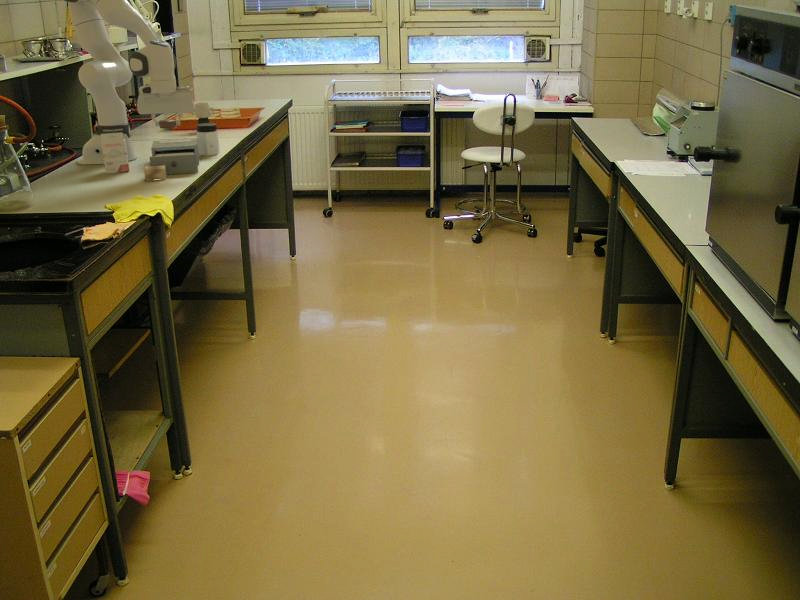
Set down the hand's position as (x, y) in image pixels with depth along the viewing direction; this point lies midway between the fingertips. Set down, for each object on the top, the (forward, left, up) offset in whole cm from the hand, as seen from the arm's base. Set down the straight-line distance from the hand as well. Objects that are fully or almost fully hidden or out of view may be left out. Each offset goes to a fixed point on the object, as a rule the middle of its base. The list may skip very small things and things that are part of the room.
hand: (168, 125), depth 315 cm
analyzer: (+1, +15, -17) cm, 23 cm away
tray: (+1, 0, -16) cm, 16 cm away
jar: (+14, +29, -17) cm, 37 cm away
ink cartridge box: (-21, +4, -17) cm, 27 cm away
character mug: (+11, +90, -17) cm, 93 cm away
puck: (0, 0, -1) cm, 1 cm away
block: (-5, -14, -17) cm, 22 cm away
